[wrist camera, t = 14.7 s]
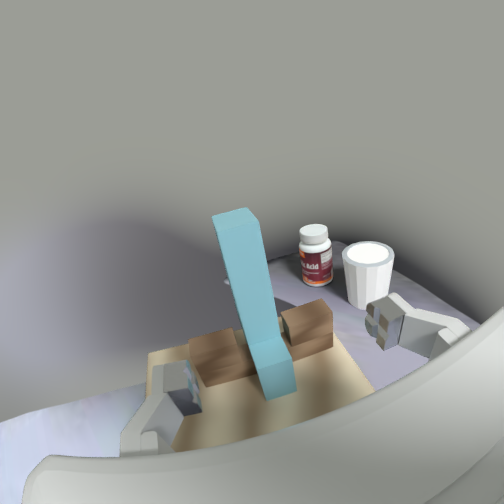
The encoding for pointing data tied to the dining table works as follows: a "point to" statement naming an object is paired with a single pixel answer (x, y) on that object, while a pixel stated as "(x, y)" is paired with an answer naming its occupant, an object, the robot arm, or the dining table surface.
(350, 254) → the white cup
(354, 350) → the dining table surface
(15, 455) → the dining table surface
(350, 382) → the jig board
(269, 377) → the angled bracket
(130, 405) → the dining table surface
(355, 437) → the robot arm
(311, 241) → the pill bottle
